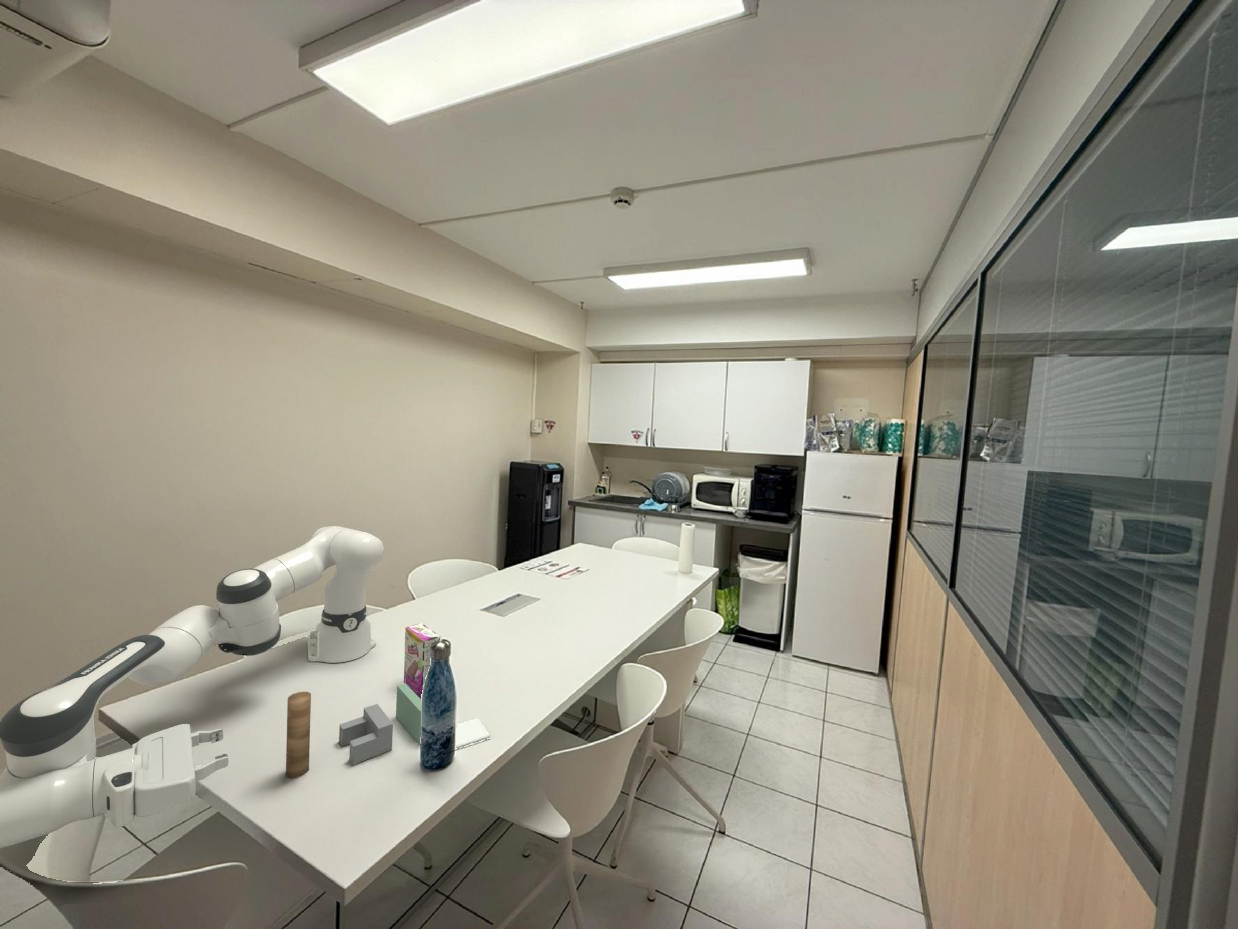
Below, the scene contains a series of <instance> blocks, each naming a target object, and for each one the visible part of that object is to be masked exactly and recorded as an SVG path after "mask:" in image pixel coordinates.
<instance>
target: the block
mask: <svg viewBox="0 0 1238 929" xmlns="http://www.w3.org/2000/svg"><path fill="white" fill-rule="evenodd" d="M393 728H394V723H393V722H392V720H391V719H390V718H389V716H387V714H386V713H385V712H384V710H383V709H382V708H381V706H380V705H379V704H378V703H376V704H372V705H369V706H366V707H364V708H363V716H360V717H357V718H355V719H351V720H349V721H346V722H342V723H340V724H339V733H338V734H339V735H338V742H339V744H340V746H341V747H346V746H348V745H349V753H348V755H349V761H350V762H351V764H352V765H356V764H359V763H361V762H364V761H366V760H368V759H371V758H374V757H376V756H378V755H381V754H384V753H386V752H389V751H391V750H392V749H393V735H394V734H393V733H394V732H393V730H394V729H393Z"/></svg>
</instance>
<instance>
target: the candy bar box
mask: <svg viewBox="0 0 1238 929" xmlns="http://www.w3.org/2000/svg"><path fill="white" fill-rule="evenodd" d="M404 629H405V633H404V635H405V636H404V637H405V638H404V666H403V668H404V670H403V684H404V683H406V684H407V685H408V686H409V687H410V689H411V690H412V691H413V692H414V693H415V694H416V695H417V696H418V697H419V698H420V699H421V694H422V690H423V685H424V683H425V677H426V675H427V673H428V669H429V667H430V645H431V644H432V642H433V641H436V640H440V641H441V636H440V635H439V634H437V632H435V631H433V630H432V629H431V628H429V627H428V626H426V625H425V624H423V623H422V622H421V623H417V624H413V625H409V626H406V627H404Z"/></svg>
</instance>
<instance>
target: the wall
mask: <svg viewBox="0 0 1238 929" xmlns="http://www.w3.org/2000/svg"><path fill="white" fill-rule="evenodd" d="M421 701H423V699H421V698H420V697H419V696H418V695H417V694H416V693H415V692H414V691H413V690H411V689H410V687H409V686H408V685H407V684H406V683H404V682H403V683H401V684H398V685H397V686H396V705H395V717H396V719H397V720H398V721H399V722H400V724H401V725H402V726H403V727H404V729H405V730H406V731H407V732H408V733H409V735H410V736H411V737H412V738H413V740H414V742H416V743H417V745H418V746H419V745H421V744H420V737H421Z"/></svg>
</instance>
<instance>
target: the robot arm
mask: <svg viewBox="0 0 1238 929" xmlns="http://www.w3.org/2000/svg"><path fill="white" fill-rule="evenodd" d="M384 548H385V547H384V543H383V541H382V540H381V539H380V538H379V537H377V536H375V535H373V534H371V533H369V532H366V531H361V530H357V529H353V528H348V527H344V526H338V525H331V526H323V527H320V528H318V529H316V530H315V531H314V533H312V536H311V537H310V540H308V541H307V542H305V543H304V544H303V545H300V546H299V547H297V548H294V549H292V550H290V551H287V552H286V553H283V554H281V555H279V556H276V557H273V558H272V559H270V560H267V561H264V562H263V563H261V564H259V565H257V566H256V567H254V568H243V569H239V570H236V571H232V572H231V573H229V574H227V575H225V576H224V577H223V578H222V579H221V580H220V581H219V583H217V586H216V591H215V592H216V593H215V596H216V601H217V603H218V607H217V608H214V607H213V606H209V605H204V604H202V605H201V604H199V605H198V604H197V605H193V606H191V607H188V608H186V609H184V610H182V611H180V612H178V613H176V614H175V615H174V616H172V617H171V618H168V619H167V620H166V621H164V622H163V623H161V624H160V625H159V626H157V627H156V628H155V629H154V630H152V631H151V632H150V633H149V634H143V635H138V636H135V637H131V638H129V639H127V640H126V641H123V642H121V643H120V644H118V645H117V646H114V647H113V648H111V649H109V650H108V651H106V652H105V653H103V654H102V655H100V656H99V657H97V658H95V659H94V660H92V661H91V662H89V663H87V664H86V665H84V666H83V667H81V668H79V669H78V670H76V671H75V672H73V673H72V674H70V675H68V676H66V677H65V678H64V679H61V680H59V681H58V682H56V683H54V684H52V685H50V686H47V687H45V688H44V689H43V688H42V689H40V690H39V691H37V692H34V693H33V694H31V695H29V696H27V697H26V698H23V699H21V700H20V701H19V702H17V703H16V704H14V706H12V707H11V708H10V709H9V710H8V711H6V712H5V713H4V715H3V716H2V718H1V719H0V742H1V744H2V747H3V749H4V750H5V751H4V752H5V758H6V764H7V766H6V767H5V769H4V770H3V772H2V773H1V774H0V849H4V848H8V847H11V846H15V845H17V844H20V843H25V842H27V841H28V842H29V841H31V840H35V839H37V838H39V837H42V836H45V835H48V834H51V833H53V832H55V831H58V830H59V829H61V828H63V827H66V826H67V825H69V824H72V823H74V822H79V821H84V820H85V821H87V820H91V819H95V818H97V817H100V816H102V815H104V817H105V818H106V819H108V821H109V822H110V823H111V824H112V825H113V826H114V828H117V829H119V828H122V827H124V826H128V825H130V824H132V823H133V822H134V821H135V817H137V818H144V817H145V818H146V817H149V816H152V815H155V814H157V813H161V812H163V811H166V810H169V809H172V808H174V807H176V806H179V805H181V804H183V803H186V802H187V801H189V800H190V799H191V798H193V796H195V795H196V793H197V790H196V789H197V785H196V783H197V782H200V781H202V780H205V779H206V778H207V777H210V776H211V775H212V774H213V773H215V772H216V771H218V770H222V769H224V768H227V767H228V766H229V756H228V754H227V753H223V754H221V755H217V756H215V757H214V759H213V760H211V761H209V762H207V763H206V764H203V763H201V764H198V765H195V760H194V758H195V757H194V750H193V748H194V747H198V746H199V745H200V744H203V743H210V742H211V744H214V743H217V742H221V741H223V739H224V730H223V728H220V727H219V728H218V729H213V730H198V731H195V732H192V730H191V729H192V728H191V725H190V724H188V723H182V724H181V723H180V724H178V725H174V726H172V727H171V726H170V727H168V728H165V729H162V730H159V731H157V732H154V733H151V734H148V735H146V736H144V737H142V738H140V739H139V740H138V741H137V742H135V743H133V744H132V745H131V746H129V747H128V748H126V749H124V750H122V751H117V752H114V753H111V754H108V755H104V756H100V757H97V758H96V756H97V740H96V734H95V720H94V719H95V718H94V717H95V713H96V708H97V707H98V703H99V702H100V700H101V699H102V697H103V696H104V695H106V694H107V693H108V692H110V691H111V690H112V689H113V688H115V687H116V686H118V685H119V684H120V683H122V682H123V681H125V680H126V679H127V678H128V679H129V680H131V681H133V682H135V683H138V684H141V685H145V686H150V687H151V686H163V685H167V684H171V683H173V682H175V681H177V680H179V679H180V678H181V677H183V676H184V675H186V674H187V672H189V671H190V670H192V668H194V666H195V665H196V664H197V663H198V662H199V661H200V660H201V659H202V658H203V657H204V656H205V655H206V653H208V652H209V651H210V650H211V649H212V648H214V647H215V646H217V647H218V649H219V650H220V651H221V652H223V653H226V654H230V653H232V654H234V655H237V656H246V657H247V656H249V657H250V656H257V655H260V654H263V653H265V652H267V651H269V650H271V649H272V648H273V647H274V646H276V645H277V643H278V642H279V640H280V637H281V632H282V625H281V623H280V611H279V605H278V603H277V602H279V601H281V600H283V599H286V598H288V597H290V596H292V595H294V594H296V593H298V592H300V591H302V590H303V589H306V588H308V587H309V586H312V585H314V584H317V582H319V581H320V580H321V579H322V577H323V574H324V572H325V571H326V570H328V569H329V568H331V567H333V566H335V572H334V574H333V577H331V579H329V580H328V581H327V582H326V584H325V585H324V595H323V596H324V598H323V599H324V601H323V610H322V613H321V619H320V622H318V624H317V625H316V626H315V630H313V631H310V632H309V636H310V637H309V639H308V640H307V644H306V645H307V646H306V647H307V661H308V662H322V663H327V664H328V663H329V664H330V663H331V664H334V663H345V662H350V661H353V660H356V659H359V658H361V657H363V656H365V655H366V654H368V652H369V651H370V650H371V649H372V648H374V647H375V646H376V645H377V641H375V640H373V638H372V625H371V624H372V623H371V621H370V620H369V619H367V613H368V612H367V610H368V608H367V606H366V590H367V582H368V578H369V577H370V576H369V575H370V573H371V571H372V569H373V568H374V567H375V566H377V565H378V564H379V563H380V562H381V560H382V558H383V556H384V552H385V549H384Z"/></svg>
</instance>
